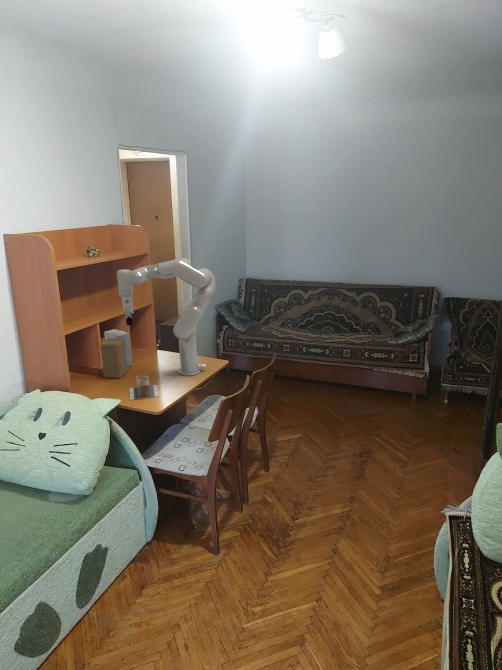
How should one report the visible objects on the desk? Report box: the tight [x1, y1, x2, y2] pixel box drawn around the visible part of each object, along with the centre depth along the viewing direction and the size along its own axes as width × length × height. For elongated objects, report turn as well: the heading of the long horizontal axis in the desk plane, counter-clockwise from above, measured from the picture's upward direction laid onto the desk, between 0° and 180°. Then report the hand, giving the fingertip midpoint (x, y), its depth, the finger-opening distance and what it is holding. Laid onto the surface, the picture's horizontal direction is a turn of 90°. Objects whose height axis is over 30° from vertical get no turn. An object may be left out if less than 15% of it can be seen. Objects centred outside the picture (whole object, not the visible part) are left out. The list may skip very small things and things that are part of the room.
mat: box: [129, 384, 160, 401], centre depth 232 cm, size 14×14×1 cm
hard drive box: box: [103, 328, 133, 368], centre depth 268 cm, size 16×8×20 cm, turn 49°
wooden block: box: [99, 339, 129, 379], centre depth 253 cm, size 10×10×20 cm
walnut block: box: [135, 374, 151, 398], centre depth 232 cm, size 6×6×14 cm
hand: (129, 324), depth 253 cm, fingers closed
